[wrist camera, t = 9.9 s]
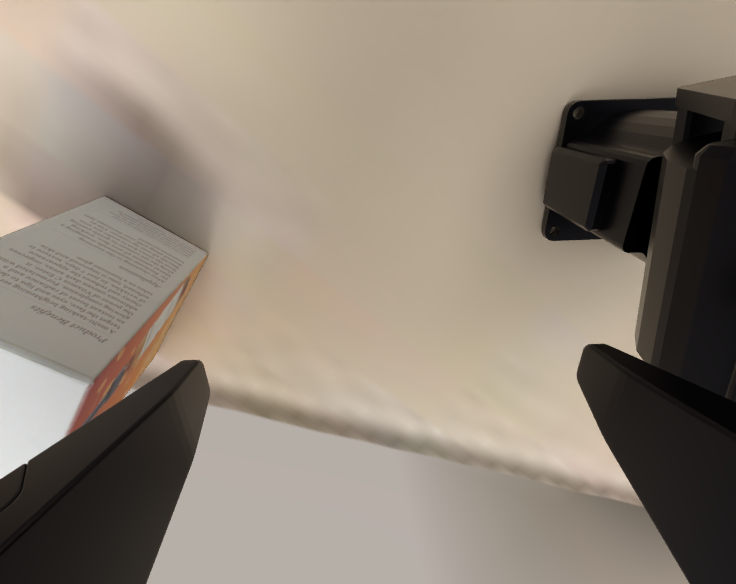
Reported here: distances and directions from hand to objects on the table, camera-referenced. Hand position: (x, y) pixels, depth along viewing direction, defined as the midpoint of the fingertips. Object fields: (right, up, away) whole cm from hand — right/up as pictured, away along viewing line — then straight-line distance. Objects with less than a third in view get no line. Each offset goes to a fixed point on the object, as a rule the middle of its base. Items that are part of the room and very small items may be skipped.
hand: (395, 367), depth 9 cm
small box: (-13, +2, +12) cm, 18 cm away
